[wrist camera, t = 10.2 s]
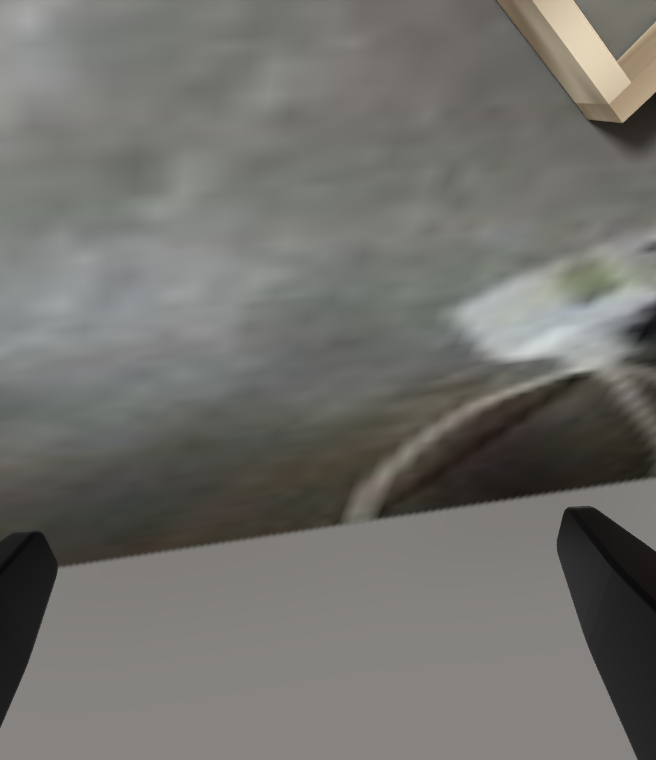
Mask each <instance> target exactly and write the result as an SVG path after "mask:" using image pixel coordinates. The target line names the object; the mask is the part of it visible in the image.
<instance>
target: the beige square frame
mask: <svg viewBox="0 0 656 760" xmlns="http://www.w3.org/2000/svg"><path fill="white" fill-rule="evenodd" d="M497 2H498V3H499V4H500V6H501V7H502V8H503V9H504V11H505V12H506V13H507V15H508V16H509V17H510V19H511V20H512V21H513V22H514V24H515V25H516V26H517V28H518V29H519V30H520V32H521V33H522V34H523V35H524V37H525V38H526V39H527V41H528V42H529V43H530V45H531V46H532V47H533V49H534V50H535V51H536V52H537V54H538V55H539V56H540V58H541V59H542V60H543V62H544V63H545V64H546V65H547V67H548V68H549V69H550V71H551V72H552V73H553V75H554V76H555V77H556V78H557V80H558V81H559V82H560V84H561V85H562V86H563V88H564V89H565V90H566V91H567V93H568V94H569V95H570V97H571V98H572V99H573V101H574V102H575V103H576V105H577V106H578V107H579V108H580V110H581V111H582V112H583V114H584V115H585V116H586V118H587V119H589V120H598V121H608V122H617V123H623V122H624V121H626V120H627V119H628V118H629V117H630V116H631V115H632V114H633V113H634V112H635V111H636V110H637V109H638V108H639V107H640V106H641V105H642V104H643V103H645V102H646V101H647V100H648V99H649V98H650V97H651V96H652V95H653V94H654V93H655V92H656V22H655V23H654V24H653V25H652V26H651V27H650V28H649V29H648V30H647V31H646V32H645V33H644V34H643V35H642V36H641V37H640V38H639V39H638V40H637V41H636V42H635V43H634V44H633V45H632V46H631V47H630V48H629V49H628V50H627V51H626V52H625V53H624V54H623V55H622V56H621V57H620V58H619V59H618V60H617V61H616V60H615V59H614V57H613V56H612V54H611V53H610V52H609V50H608V49H607V47H606V46H605V45H604V43H603V42H602V40H601V39H600V37H599V36H598V35H597V33H596V32H595V30H594V29H593V28H592V26H591V25H590V23H589V22H588V20H587V19H586V18H585V16H584V15H583V13H582V12H581V11H580V9H579V8H578V6H577V5H576V3H575V2H574V1H573V0H497Z"/></svg>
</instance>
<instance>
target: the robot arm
mask: <svg viewBox="0 0 656 760" xmlns="http://www.w3.org/2000/svg"><path fill="white" fill-rule="evenodd" d="M557 552H558V556H559V559H560V562H561V565H562V569H563V572H564V574H565V578H566V581H567V584H568V587H569V590H570V593H571V597H572V600H573V603H574V606H575V609H576V612H577V615H578V618H579V621H580V624H581V628H582V631H583V634H584V636H585V639H586V642H587V645H588V647H589V650H590V652H591V655H592V657H593V659H594V662H595V664H596V666H597V668H598V671H599V673H600V675H601V677H602V680H603V682H604V684H605V686H606V689H607V691H608V693H609V696H610V698H611V700H612V703H613V705H614V707H615V709H616V712H617V714H618V716H619V718H620V721H621V723H622V725H623V727H624V730H625V732H626V734H627V736H628V739H629V741H630V743H631V746H632V748H633V750H634V753H635V755H636V757H637V759H638V760H656V551H654V550H653V549H652V548H650V547H649V546H647V545H646V544H645V543H643V542H642V541H640V540H639V539H638V538H636V537H635V536H633V535H632V534H631V533H629V532H628V531H626V530H625V529H623V528H622V527H621V526H619V525H618V524H616V523H615V522H614V521H612V520H611V519H609V518H608V517H607V516H605V515H604V514H603V513H601V512H600V511H598V510H597V509H595V508H593V507H590V506H581V507H569V508H567V509H566V510H565V511H564V514H563V518H562V522H561V527H560V530H559V535H558V538H557ZM57 570H58V566H57V561H56V559H55V556H54V554H53V552H52V550H51V548H50V546H49V544H48V542H47V540H46V538H45V536H44V534H43V533H42V532H40V531H37V530H29V531H17V532H14V533H12V534H10V535H9V536H7V537H6V538H4V539H3V540H2V541H0V727H1V725H2V723H3V720H4V718H5V716H6V713H7V711H8V709H9V707H10V704H11V702H12V699H13V697H14V695H15V693H16V690H17V688H18V686H19V683H20V681H21V678H22V676H23V674H24V671H25V669H26V667H27V664H28V661H29V659H30V656H31V653H32V650H33V647H34V644H35V641H36V638H37V635H38V632H39V629H40V626H41V623H42V620H43V616H44V613H45V610H46V607H47V604H48V601H49V598H50V595H51V592H52V589H53V586H54V582H55V579H56V576H57Z"/></svg>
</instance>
